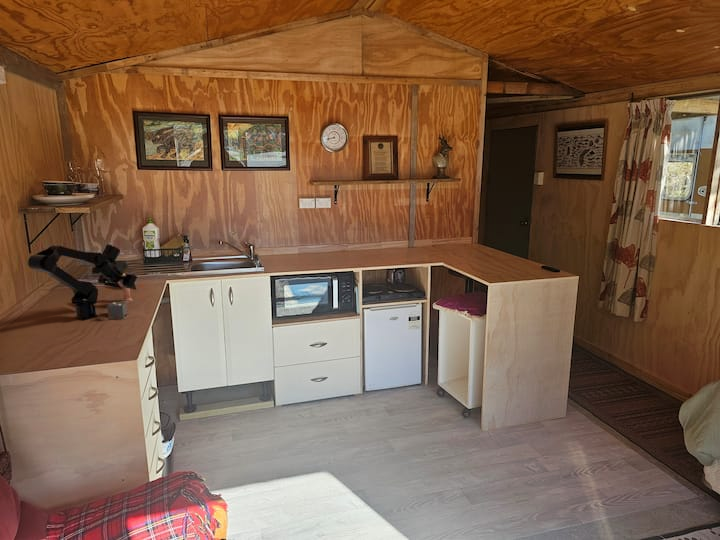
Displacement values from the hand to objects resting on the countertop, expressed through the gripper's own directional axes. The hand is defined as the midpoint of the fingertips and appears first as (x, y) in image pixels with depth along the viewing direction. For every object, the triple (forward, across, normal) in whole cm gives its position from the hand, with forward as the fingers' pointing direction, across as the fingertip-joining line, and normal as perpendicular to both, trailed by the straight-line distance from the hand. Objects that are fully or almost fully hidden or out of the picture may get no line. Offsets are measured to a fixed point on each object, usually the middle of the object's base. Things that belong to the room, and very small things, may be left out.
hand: (127, 288), depth 241 cm
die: (-9, -13, +19) cm, 25 cm away
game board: (+1, 0, +8) cm, 9 cm away
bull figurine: (+21, +23, -11) cm, 33 cm away
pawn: (+3, 0, +5) cm, 6 cm away
